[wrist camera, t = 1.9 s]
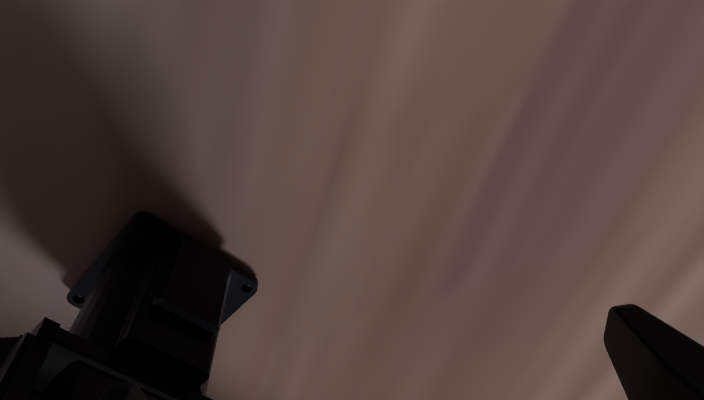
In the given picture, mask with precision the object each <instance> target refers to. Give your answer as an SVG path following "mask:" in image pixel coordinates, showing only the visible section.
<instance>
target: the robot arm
mask: <svg viewBox="0 0 704 400" xmlns="http://www.w3.org/2000/svg"><path fill="white" fill-rule="evenodd" d="M139 222H144V223H146V224H147V226H143V225H141V224H140V223H139ZM244 284H248V285H250V286H244ZM257 287H258V281H257V279H256V278H255V277H254V276H252V275H251V274H249V273H247V272H246V271H244V270H242V269H241V268H239V267H238V266H236V265H234V264H233V263H231V262H230V261H228V260H226V259H225V258H223V257H221V256H220V255H218V254H216V253H215V252H213V251H211V250H210V249H208V248H206V247H205V246H203V245H202V244H200V243H198V242H197V241H195V240H193V239H192V238H190V237H188V236H186V235H185V234H183V233H181V232H180V231H178V230H176V229H175V228H173V227H171V226H170V225H168V224H166V223H165V222H163V221H161V220H160V219H158V218H156V217H155V216H153V215H151V214H149V213H147V212H138V213H136V214H135V215H133V217H132V218H131V219H130V220H129V221H128V223H127V224H126V225H125V226H124V227H123V228H122V230H121V231H120V232H119V233H118V234H117V235H116V237H115V238H114V239H113V240H112V241H111V242H110V244H109V245H108V246H107V247H106V248H105V249H104V251H103V252H102V253H101V254H100V255H99V257H98V258H97V259H96V260H95V261H94V262H93V264H92V265H91V266H90V267H89V268H88V269H87V271H86V272H85V273H84V274H83V275H82V276H81V278H80V279H79V280H78V281H77V282H76V284H75V285H74V286H73V287H72V288H71V290H70V292H69V293H68V295H67V300H68V302H69V303H70V304H72V305H73V306H75V307H77V308H79V309H81V310H80V312H79V314H78V315H77V317H76V319H75V321H74V323H73V325H72V327H71V328H70V330H69V332H68V331H66V330H64V329H62V328H60V324H59V323H56V322H54V321H52V320H50V319H48V318H46V317H45V318H44V319H43V320H42V321H41V322H40V323H39V324H38V325H37V326H36V328H35V329H34V330H33V331H32V332H31V333H28V332H27V333H26V334H25V335H24V336H23V335H20V336H19V337H7V338H0V400H213V399H211V398H209V397H207V396H206V391H207V386H208V381H209V376H210V371H211V367H212V362H213V357H214V352H215V347H216V342H217V337H218V332H219V330H220V325H221V324H222V323H223V322H224V321H225V320H227V319H228V318H229V317H230V316H231V315H232V314H233V313H234V312H235V311H236V310H237V309H239V308H240V307H241V306H242V305H243V304H244V303H245V302H246V301H247V300H248V299H249V298H251V297H252V296H253V295H254V294H255V293H256V291H257ZM78 295H79V296H81V297H79V296H78ZM604 344H605V347H606V350H607V352H608V354H609V357H610V359H611V361H612V364H613V366H614V368H615V370H616V373H617V375H618V377H619V379H620V382H621V384H622V386H623V389H624V391H625V393H626V395H627V398H628V400H704V346H702V345H701V344H699V343H697V342H696V341H694V340H692V339H691V338H689V337H688V336H686V335H684V334H683V333H681V332H679V331H678V330H676V329H675V328H673V327H671V326H670V325H668V324H666V323H665V322H663V321H662V320H660V319H658V318H657V317H655V316H653V315H652V314H650V313H649V312H647V311H645V310H644V309H642V308H640V307H639V306H637V305H634V304H626V305H619V306H614V307H612V308H611V309H610V310H609V312H608V317H607V322H606V327H605V332H604Z"/></svg>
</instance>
